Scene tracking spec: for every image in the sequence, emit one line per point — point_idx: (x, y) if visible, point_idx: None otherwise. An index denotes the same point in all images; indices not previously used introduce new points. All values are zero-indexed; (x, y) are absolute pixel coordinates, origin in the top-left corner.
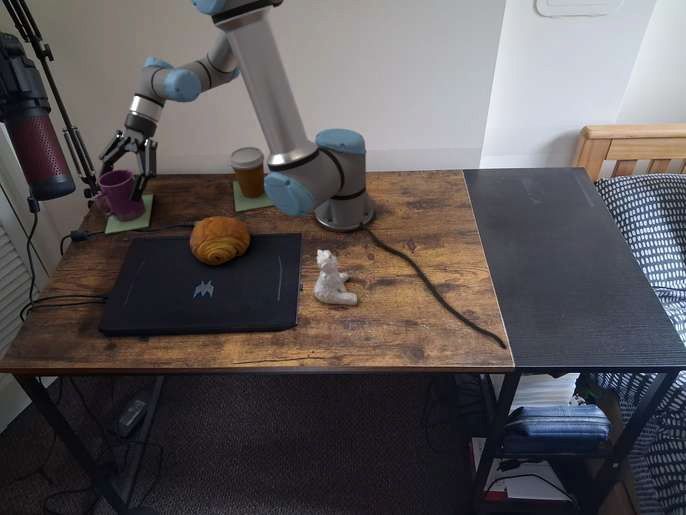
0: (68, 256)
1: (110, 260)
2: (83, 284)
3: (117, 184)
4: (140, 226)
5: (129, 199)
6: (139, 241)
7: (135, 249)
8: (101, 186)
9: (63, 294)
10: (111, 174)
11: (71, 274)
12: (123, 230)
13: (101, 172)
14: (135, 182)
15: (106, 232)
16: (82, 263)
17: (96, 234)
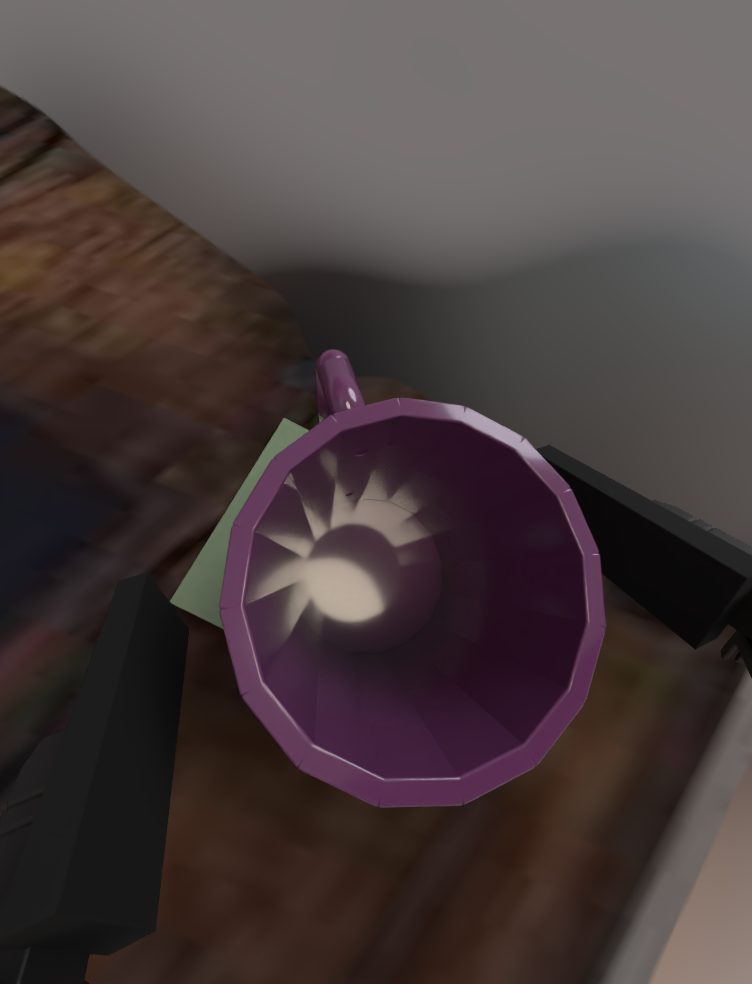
0: (248, 270)
1: (68, 366)
2: (8, 241)
3: (503, 587)
4: (199, 567)
5: (139, 576)
6: (92, 517)
7: (44, 477)
8: (364, 408)
9: (20, 179)
10: (566, 578)
11: (119, 237)
12: (240, 490)
13: (650, 510)
14: (80, 764)
15: (284, 426)
16: (154, 286)
17: (316, 395)
